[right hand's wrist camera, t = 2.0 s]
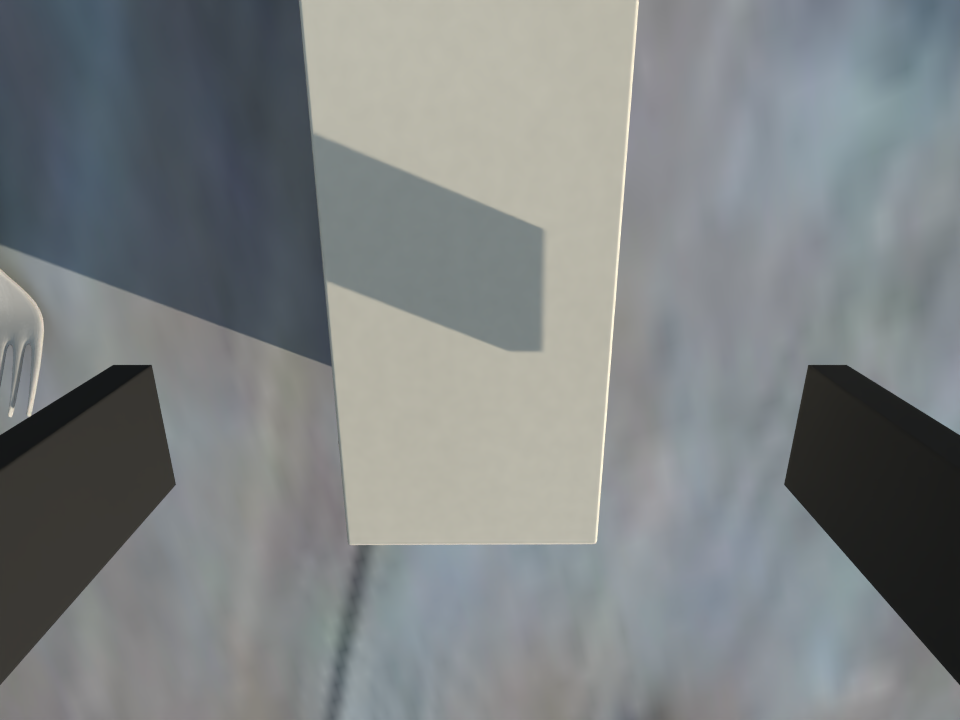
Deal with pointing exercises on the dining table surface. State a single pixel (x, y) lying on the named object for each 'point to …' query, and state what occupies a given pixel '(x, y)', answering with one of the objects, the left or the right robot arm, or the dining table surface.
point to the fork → (19, 335)
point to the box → (470, 258)
